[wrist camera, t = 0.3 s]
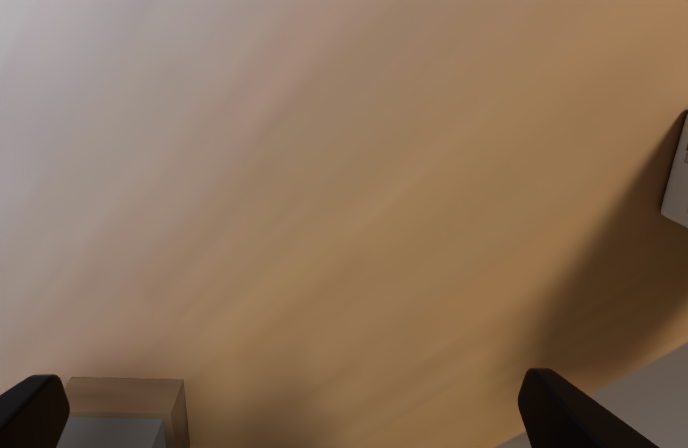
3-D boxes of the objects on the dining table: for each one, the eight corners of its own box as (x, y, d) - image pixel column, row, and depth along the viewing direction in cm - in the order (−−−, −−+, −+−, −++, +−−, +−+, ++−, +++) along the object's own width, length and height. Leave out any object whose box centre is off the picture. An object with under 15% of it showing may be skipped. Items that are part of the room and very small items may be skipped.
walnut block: (191, 441, 30) (179, 482, 28) (93, 441, 30) (71, 482, 27) (184, 374, 27) (170, 413, 25) (75, 372, 26) (48, 411, 24)
